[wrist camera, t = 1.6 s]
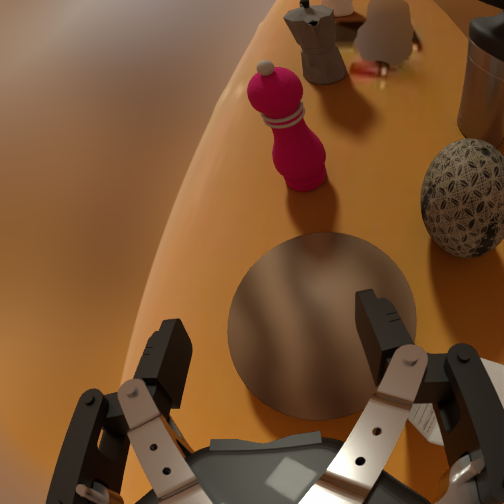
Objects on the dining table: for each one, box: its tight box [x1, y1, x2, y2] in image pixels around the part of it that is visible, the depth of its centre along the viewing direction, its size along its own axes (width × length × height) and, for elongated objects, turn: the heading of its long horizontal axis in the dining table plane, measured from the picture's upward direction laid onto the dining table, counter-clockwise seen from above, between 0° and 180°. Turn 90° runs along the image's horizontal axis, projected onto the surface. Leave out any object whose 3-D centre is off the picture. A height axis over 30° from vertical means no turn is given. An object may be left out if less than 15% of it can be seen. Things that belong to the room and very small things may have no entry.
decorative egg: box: [421, 139, 504, 258], centre depth 24 cm, size 12×12×15 cm
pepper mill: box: [247, 60, 326, 192], centre depth 32 cm, size 7×7×20 cm
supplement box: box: [407, 358, 504, 446], centre depth 18 cm, size 7×7×13 cm
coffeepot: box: [283, 0, 346, 84], centre depth 42 cm, size 15×9×18 cm, turn 179°
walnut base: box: [227, 232, 417, 420], centre depth 30 cm, size 20×20×5 cm
